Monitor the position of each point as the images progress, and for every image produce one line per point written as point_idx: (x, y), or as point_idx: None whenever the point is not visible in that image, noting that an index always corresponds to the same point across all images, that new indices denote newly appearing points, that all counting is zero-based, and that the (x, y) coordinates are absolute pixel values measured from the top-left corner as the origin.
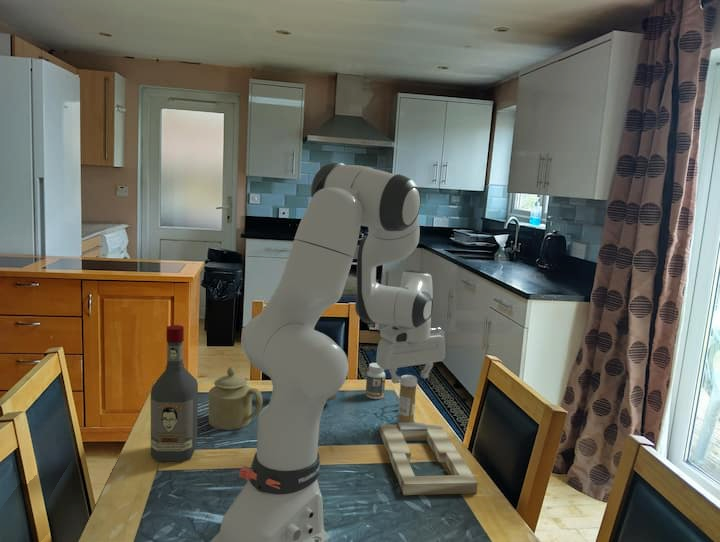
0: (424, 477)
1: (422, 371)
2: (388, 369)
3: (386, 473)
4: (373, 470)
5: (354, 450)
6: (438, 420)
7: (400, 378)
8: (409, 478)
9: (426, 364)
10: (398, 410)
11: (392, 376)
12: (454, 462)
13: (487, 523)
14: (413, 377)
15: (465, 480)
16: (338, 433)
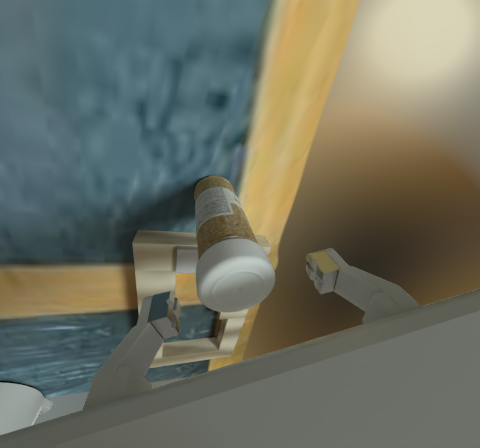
0: (173, 358)
1: (324, 280)
2: (95, 377)
3: (131, 327)
4: (110, 324)
5: (72, 282)
6: (297, 185)
7: (197, 283)
8: (153, 361)
9: (368, 310)
10: (195, 205)
11: (140, 325)
12: (226, 333)
13: (214, 366)
14: (258, 290)
15: (219, 355)
16: (14, 219)
